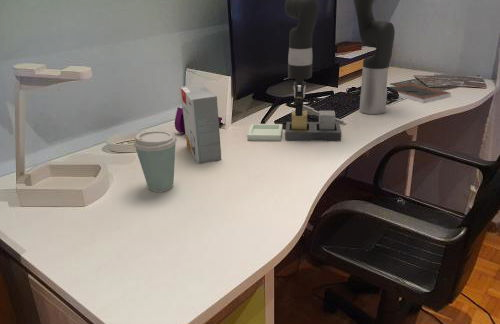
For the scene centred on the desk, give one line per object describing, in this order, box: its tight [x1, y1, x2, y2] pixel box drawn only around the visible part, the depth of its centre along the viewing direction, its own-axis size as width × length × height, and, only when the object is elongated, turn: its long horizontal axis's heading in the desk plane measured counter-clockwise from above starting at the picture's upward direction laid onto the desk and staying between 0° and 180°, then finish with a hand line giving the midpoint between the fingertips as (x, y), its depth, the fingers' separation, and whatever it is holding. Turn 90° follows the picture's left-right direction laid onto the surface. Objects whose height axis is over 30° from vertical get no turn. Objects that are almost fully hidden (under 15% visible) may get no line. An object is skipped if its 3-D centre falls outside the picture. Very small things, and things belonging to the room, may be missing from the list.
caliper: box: [302, 104, 347, 126], centre depth 153 cm, size 20×1×6 cm, turn 54°
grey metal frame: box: [284, 121, 342, 142], centre depth 139 cm, size 18×10×3 cm, turn 83°
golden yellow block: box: [291, 110, 308, 130], centre depth 139 cm, size 5×5×8 cm
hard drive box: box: [179, 83, 222, 165], centre depth 126 cm, size 16×8×20 cm, turn 21°
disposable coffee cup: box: [133, 129, 177, 193], centre depth 107 cm, size 11×11×15 cm
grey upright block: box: [318, 110, 336, 131], centre depth 138 cm, size 5×5×8 cm
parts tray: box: [246, 123, 283, 142], centre depth 142 cm, size 11×11×2 cm
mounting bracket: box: [174, 107, 223, 135], centre depth 148 cm, size 9×8×18 cm
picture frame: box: [388, 82, 452, 104], centre depth 180 cm, size 16×2×22 cm
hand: (299, 111), depth 137 cm, fingers open, 8 cm apart
